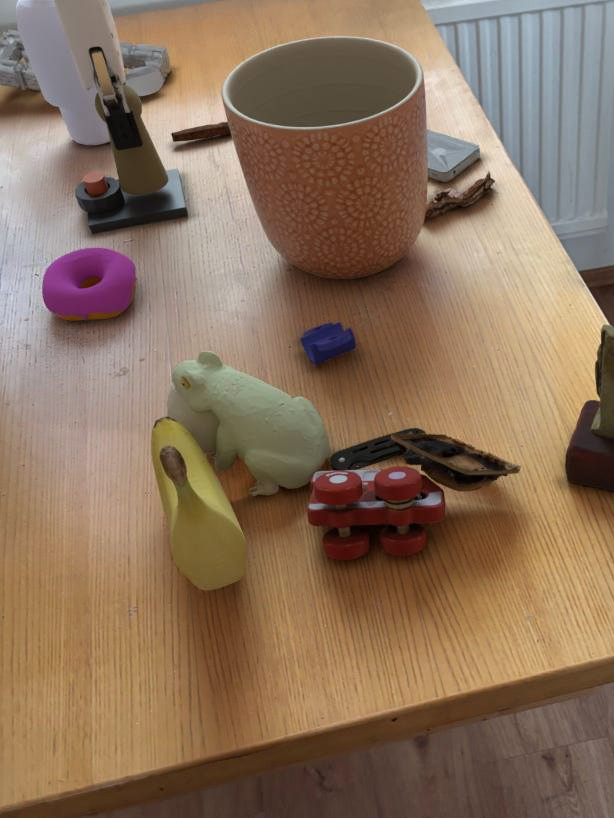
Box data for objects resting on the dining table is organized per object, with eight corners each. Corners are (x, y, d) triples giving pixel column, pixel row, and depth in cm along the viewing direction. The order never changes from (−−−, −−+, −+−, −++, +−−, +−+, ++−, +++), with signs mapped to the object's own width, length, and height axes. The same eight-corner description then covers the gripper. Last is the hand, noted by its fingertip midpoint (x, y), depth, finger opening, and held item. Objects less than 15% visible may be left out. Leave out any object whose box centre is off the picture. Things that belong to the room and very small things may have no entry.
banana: (184, 557, 89) (130, 424, 84) (242, 537, 90) (192, 405, 85) (196, 639, 65) (122, 461, 60) (275, 611, 67) (209, 434, 61)
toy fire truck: (442, 482, 76) (441, 432, 85) (292, 492, 76) (306, 441, 85) (448, 555, 80) (446, 500, 89) (306, 564, 80) (318, 508, 89)
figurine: (213, 399, 95) (183, 315, 87) (350, 442, 91) (332, 357, 82) (154, 463, 90) (116, 381, 82) (296, 512, 85) (271, 429, 77)
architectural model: (175, 47, 138) (181, 82, 142) (6, 22, 137) (18, 58, 141) (154, 90, 132) (161, 125, 136) (-22, 64, 131) (-9, 100, 136)
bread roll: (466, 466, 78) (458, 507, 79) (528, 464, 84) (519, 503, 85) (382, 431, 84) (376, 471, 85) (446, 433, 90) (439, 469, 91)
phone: (349, 143, 123) (350, 152, 124) (445, 173, 117) (446, 183, 118) (386, 117, 126) (388, 126, 127) (482, 145, 121) (483, 155, 122)
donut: (40, 329, 103) (22, 292, 100) (68, 275, 109) (52, 239, 106) (130, 328, 103) (115, 292, 99) (153, 275, 109) (140, 239, 105)
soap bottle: (114, 155, 125) (38, -57, 106) (47, 148, 127) (-40, -62, 107) (148, 119, 131) (82, -89, 111) (84, 113, 133) (8, -93, 113)
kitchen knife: (315, 96, 132) (323, 107, 129) (317, 109, 133) (325, 120, 130) (166, 121, 128) (171, 133, 125) (170, 134, 129) (174, 146, 126)
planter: (239, 234, 113) (194, 65, 97) (394, 187, 118) (374, 19, 102) (300, 324, 102) (260, 150, 86) (467, 268, 107) (458, 94, 91)
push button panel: (85, 235, 114) (76, 212, 112) (82, 195, 120) (73, 172, 117) (188, 216, 116) (181, 192, 114) (180, 177, 122) (173, 154, 119)
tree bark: (504, 189, 116) (499, 168, 115) (430, 227, 112) (425, 206, 110) (476, 186, 120) (471, 166, 119) (403, 223, 116) (398, 202, 114)
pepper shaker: (164, 165, 118) (135, 73, 109) (172, 188, 115) (143, 94, 106) (117, 176, 117) (83, 83, 108) (124, 199, 114) (90, 105, 105)
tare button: (88, 198, 114) (82, 184, 113) (87, 187, 116) (81, 173, 114) (109, 194, 115) (104, 180, 113) (108, 183, 116) (103, 170, 115)
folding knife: (421, 422, 90) (432, 442, 88) (422, 432, 91) (433, 451, 90) (326, 451, 88) (335, 472, 87) (328, 461, 89) (337, 482, 88)
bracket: (314, 348, 92) (324, 373, 94) (356, 331, 93) (366, 355, 94) (295, 335, 100) (304, 358, 101) (334, 319, 101) (343, 342, 102)
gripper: (30, -65, 101) (93, 109, 116) (32, -6, 91) (100, 175, 106) (100, -75, 102) (153, 98, 117) (109, -18, 92) (165, 163, 107)
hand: (127, 133), depth 111 cm, fingers open, 5 cm apart
